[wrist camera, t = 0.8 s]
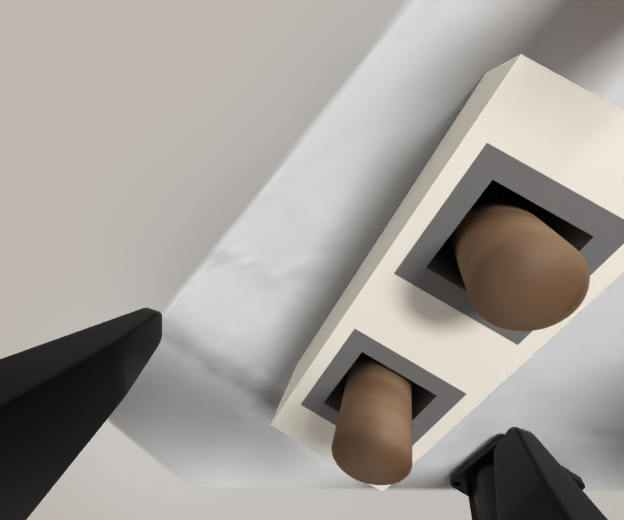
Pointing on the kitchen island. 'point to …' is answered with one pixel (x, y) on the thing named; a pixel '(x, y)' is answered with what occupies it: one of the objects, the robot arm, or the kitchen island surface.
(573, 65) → the kitchen island surface
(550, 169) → the white peg holder block
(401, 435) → the peg far
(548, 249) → the peg near
